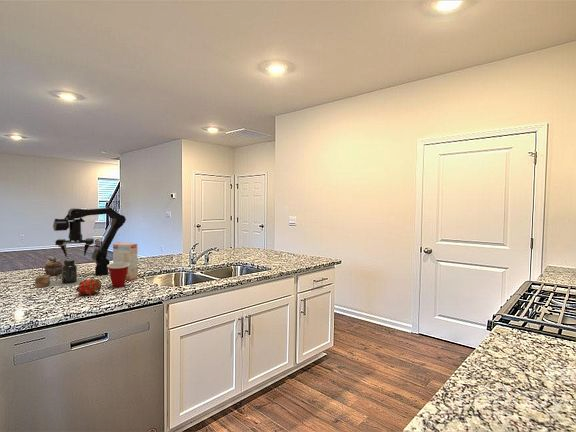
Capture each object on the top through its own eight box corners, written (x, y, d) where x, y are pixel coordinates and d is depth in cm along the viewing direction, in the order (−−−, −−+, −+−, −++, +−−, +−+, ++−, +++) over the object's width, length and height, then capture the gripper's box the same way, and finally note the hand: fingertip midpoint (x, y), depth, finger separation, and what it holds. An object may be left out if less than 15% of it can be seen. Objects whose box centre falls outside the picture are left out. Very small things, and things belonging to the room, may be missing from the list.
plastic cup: (107, 289, 174) (106, 266, 174) (107, 284, 184) (107, 263, 183) (130, 287, 179) (129, 265, 179) (129, 282, 189) (129, 261, 188)
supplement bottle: (59, 282, 182) (58, 260, 181) (71, 280, 188) (70, 258, 187) (67, 284, 179) (67, 262, 179) (79, 281, 186) (79, 259, 185)
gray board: (84, 281, 191) (84, 278, 191) (79, 287, 178) (79, 284, 178) (42, 283, 184) (42, 281, 184) (34, 290, 171) (33, 287, 171)
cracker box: (138, 278, 199) (137, 243, 198) (129, 280, 194) (129, 244, 193) (121, 276, 205) (121, 242, 204) (112, 278, 200) (112, 243, 198)
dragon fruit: (104, 295, 170) (78, 303, 161) (97, 283, 174) (71, 291, 165) (106, 284, 166) (79, 292, 157) (98, 272, 169) (72, 279, 160)
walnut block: (49, 284, 178) (49, 275, 178) (47, 286, 173) (46, 277, 173) (38, 285, 176) (38, 275, 176) (35, 287, 172) (35, 277, 171)
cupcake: (66, 274, 207) (66, 258, 206) (48, 277, 199) (48, 260, 198) (59, 272, 212) (59, 256, 211) (41, 275, 204) (41, 258, 203)
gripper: (95, 228, 207) (95, 253, 208) (59, 229, 200) (60, 254, 201) (92, 229, 197) (93, 256, 198) (54, 230, 190) (55, 258, 191)
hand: (75, 256), depth 197 cm, fingers open, 9 cm apart
